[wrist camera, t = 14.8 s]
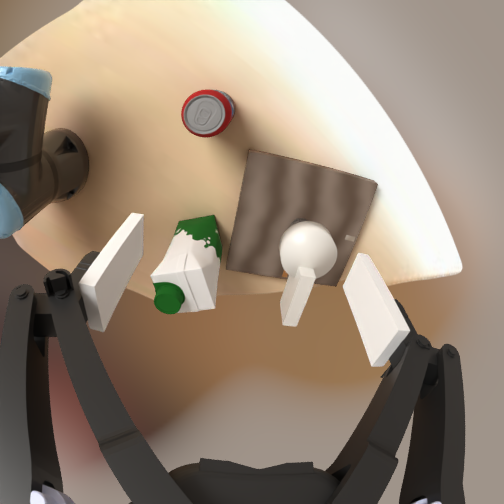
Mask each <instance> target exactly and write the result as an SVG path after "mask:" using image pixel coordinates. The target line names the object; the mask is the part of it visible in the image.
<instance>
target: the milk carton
mask: <svg viewBox="0 0 504 504" xmlns="http://www.w3.org/2000/svg"><path fill="white" fill-rule="evenodd" d="M221 256H222V243H221V240H220V236H219V232H218V228H217V224H216V221H215V217H214V215H211V216H205V217H200V218H194V219H189V220H184V221H179V223H178V226H177V228H176V231H175V234H174V237H173V239H172V241H171V244H170V246H169V248H168V250H167V252H166V255H165V257H164V259H163V261H162V262H161V263H160V264H159V266H158V267H157V268H156V269H155V271H154V272H153V273H152V274H151V278H152V280H153V282H154V283H153V285H154V287H155V292H156V295H155V298H154V304H155V306H156V308H157V309H158V310H159V311H161V312H163V313H166V314H175V313H183V312H196V311H199V310H206V309H215V304H216V293H217V283H218V276H219V269H220V263H221Z"/></svg>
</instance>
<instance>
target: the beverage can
mask: <svg viewBox="0 0 504 504" xmlns="http://www.w3.org/2000/svg"><path fill="white" fill-rule="evenodd" d="M234 113H235V105H234V102H233V100H232V98H231V97H230V96H229V95H228V94H226V93H225V92H222V91H219V90H201V91H198V92H195V93H193V94H192V95H191V96H189V97H188V98H187V100H186V101H185V103H184V105H183V107H182V113H181V116H182V121H183V124H184V126H185V127H186V128H187V130H188V131H189V132H191V133H192V134H194V135H196V136H199V137H212V136H215V135H218V134H219V133H221V132H222V131H223V130H224V129H225V128H226V127H227V126H228V124H229V123H230V122H231V120H232V118H233V116H234Z"/></svg>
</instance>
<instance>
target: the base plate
mask: <svg viewBox="0 0 504 504" xmlns="http://www.w3.org/2000/svg"><path fill="white" fill-rule="evenodd" d="M377 185H378V184H377V183H376V182H375V181H374V180H370V179H367V178H364V177H361V176H357V175H354V174H350V173H347V172H343V171H340V170H336V169H333V168H329V167H325V166H321V165H317V164H313V163H309V162H305V161H301V160H297V159H293V158H288V157H284V156H280V155H275V154H270V153H265V152H261V151H255V150H250V149H249V154H248V158H247V163H246V168H245V173H244V178H243V182H242V187H241V192H240V197H239V202H238V207H237V212H236V217H235V222H234V227H233V233H232V238H231V243H230V248H229V253H228V259H227V264H226V269H227V270H233V271H239V272H245V273H251V274H257V275H263V276H270V277H276V278H283V279H288V277H289V274H288V273H287V272H286V271H285V270H284V268H283V266H282V263H281V257H280V251H279V243H280V239H281V237H282V235H283V233H284V232H285V231H286V230H287V229H288V228H289V227H290V224H291V223H292V222H293V221H294V220H295V219H298V218H304V219H306V220H308V221H313V222H317V223H319V224H321V225H323V226H324V227H325V228H326V229H327V230H328V231H329V233H330V235H331V237H332V239H333V241H334V243H335V245H336V248H337V259H336V262H335V264H334V266H333V267H332V268H331V270H330V271H329V272H327V273H326V274H325V275H323V276H321V277H319V278H317V279H315V282H314V283H315V284H322V285H330V286H337V283H338V281H339V279H340V277H341V275H342V272H343V270H344V268H345V266H346V263H347V261H348V259H349V257H350V254H351V252H352V250H353V247H354V245H355V242H356V240H357V238H358V235H359V233H360V230H361V228H362V225H363V223H364V220H365V218H366V215H367V212H368V210H369V207H370V205H371V202H372V199H373V196H374V194H375V191H376V188H377Z"/></svg>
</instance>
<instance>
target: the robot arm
mask: <svg viewBox="0 0 504 504" xmlns="http://www.w3.org/2000/svg"><path fill="white" fill-rule="evenodd" d="M51 85H52V76H51V74H50V73H49V72H48V71H45V70H40V69H33V68H22V67H3V66H0V239H2V238H7V237H9V236H10V235H12V234H13V233H14V232H16V231H18V230H20V229H21V228H22V227H23V226H24V225H25V224H26V223H27V222H28V221H30V220H31V219H32V218H33V217H34V216H35V215H36V214H38V213H39V212H40V211H41V210H42V209H44V208H45V207H46V206H47V205H49V204H50V203H55V202H60V201H65V200H68V199H70V198H71V197H73V196H74V195H75V194H77V193H78V192H79V191H80V190H81V189H82V188H83V186H84V184H85V182H86V180H87V177H88V171H89V160H88V155H87V151H86V149H85V146H84V144H83V143H82V141H81V140H80V138H79V137H78V136H77V135H76V134H75V133H73V132H72V131H70V130H67V129H63V128H58V129H54V130H51V131H48V132H46V133H44V129H45V121H46V114H47V108H48V102H49V101H50V99H51V97H50V91H51ZM143 229H144V214H137V213H131V214H130V216H129V217H128V218H127V219H126V220H125V222H124V223H123V224H122V225H121V227H120V228H119V229H118V230H117V232H116V233H115V234H114V235H113V237H112V238H111V239H110V241H109V242H108V243H107V244H106V246H105V247H104V248H103V250H102V251H101V252H95V251H92V252H90V253H88V254H87V255H85V256H84V258H83V259H82V260H81V261H80V263H79V264H78V265H77V267H76V268H75V269H74V271H73V272H72V273H71V274H70V272H69V271H67V270H65V269H55V270H52V271H50V272H49V273H47V274H46V276H45V277H44V286H45V289H46V292H47V293H35V292H34V289H33V288H32V286H30V285H26V284H23V285H19V286H18V287H16V288H14V289H13V290H12V292H11V294H10V298H9V302H8V306H7V311H6V316H5V321H4V326H3V333H2V338H1V345H0V504H75V503H74V502H73V501H72V499H71V498H70V497H68V496H67V495H66V494H64V493H63V484H62V477H61V471H60V466H59V461H58V456H57V451H56V445H55V440H54V433H53V425H52V417H51V408H50V395H49V375H48V339H49V337H58V340H59V344H60V348H61V351H62V354H63V358H64V360H65V364H66V367H67V370H68V373H69V375H70V378H71V381H72V384H73V386H74V389H75V392H76V394H77V397H78V399H79V402H80V404H81V406H82V409H83V411H84V413H85V415H86V418H87V420H88V422H89V424H90V426H91V429H92V431H93V433H94V435H95V437H96V439H97V441H98V443H99V447H100V450H101V452H102V453H103V456H104V458H105V459H106V461H107V463H108V465H109V467H110V468H111V470H112V471H113V473H114V475H115V477H116V478H117V480H118V481H119V483H120V485H121V486H122V488H123V489H124V491H125V492H126V494H127V495H128V497H129V498H130V500H131V501H132V502H130V503H129V504H377V503H378V501H379V500H380V498H381V496H382V494H383V492H384V491H385V489H386V486H387V485H388V483H389V481H390V479H391V477H392V475H393V473H394V471H395V469H396V467H397V464H398V459H397V458H395V455H396V452H397V450H398V448H399V445H400V443H401V441H402V438H403V436H404V434H405V431H406V429H407V426H408V424H409V421H410V419H411V416H412V413H413V410H414V417H413V425H412V433H411V440H410V447H409V453H408V459H407V464H406V469H405V475H404V479H403V484H402V488H401V493H400V499H399V504H465V498H464V491H463V483H462V482H463V472H464V456H465V407H464V391H463V380H462V372H461V364H460V356H459V353H458V351H457V350H456V348H455V347H453V346H452V345H450V344H444V346H442V348H441V349H436V348H433V347H432V346H431V343H430V342H429V341H428V340H427V338H425V337H424V336H422V335H418V334H417V332H416V331H415V329H414V327H413V325H412V323H411V321H410V319H409V318H408V315H407V314H406V312H405V310H404V308H403V306H402V305H401V304H400V303H399V302H398V300H396V299H393V297H392V295H391V293H390V291H389V289H388V288H387V286H386V284H385V282H384V281H383V279H382V277H381V275H380V274H379V272H378V270H377V268H376V267H375V265H374V263H373V262H372V260H371V258H370V257H369V255H368V254H363V253H358V254H357V256H356V259H355V261H354V263H353V265H352V268H351V270H350V272H349V274H348V276H347V278H346V281H345V283H344V285H343V289H344V292H345V294H346V297H347V299H348V302H349V304H350V307H351V310H352V313H353V315H354V318H355V320H356V323H357V325H358V329H359V332H360V334H361V337H362V340H363V343H364V346H365V348H366V352H367V355H368V357H369V360H370V363H371V366H384V364H385V363H386V362H387V361H388V360H390V363H391V365H390V366H389V368H388V369H387V370H386V371H385V372H384V374H383V375H382V376H381V378H383V379H382V381H381V383H380V385H379V387H378V389H377V391H376V393H375V395H374V397H373V399H372V401H371V403H370V404H369V407H368V408H367V410H366V412H365V413H364V415H363V417H362V419H361V420H360V422H359V424H358V426H357V427H356V429H355V430H354V432H353V434H352V435H351V437H350V439H349V440H348V442H347V443H346V445H345V447H344V448H343V450H342V451H341V453H340V454H339V455H338V457H337V459H336V460H335V461H334V463H333V464H332V465H331V466H330V467H329V468H328V469H327V470H326V471H323V470H321V469H317V468H313V462H301V463H285V464H281V465H277V466H273V467H268V468H264V469H255V468H251V467H248V466H244V465H240V464H237V463H233V462H230V461H221V460H212V459H204V458H201V459H200V462H199V463H193V464H188V465H184V466H181V467H178V468H176V469H174V470H172V471H170V472H169V473H168V472H167V471H166V470H165V468H164V467H163V465H162V464H161V463H160V461H159V460H158V459H157V457H156V455H155V454H154V452H153V451H152V449H151V448H150V446H149V445H148V443H147V442H146V440H145V439H144V437H143V436H142V434H141V433H140V431H139V430H138V429H137V428H136V426H135V425H134V423H133V421H132V420H131V418H130V416H129V414H128V413H127V411H126V409H125V407H124V405H123V404H122V402H121V400H120V398H119V396H118V394H117V392H116V390H115V388H114V386H113V384H112V383H111V380H110V378H109V376H108V374H107V372H106V370H105V368H104V366H103V363H102V361H101V359H100V357H99V354H98V352H97V350H96V347H95V345H94V343H93V340H92V338H91V335H90V333H89V330H88V328H87V325H86V322H87V320H88V323H89V327H90V328H91V329H94V330H98V331H102V332H104V331H105V329H106V327H107V324H108V322H109V320H110V318H111V316H112V314H113V312H114V310H115V307H116V306H117V303H118V302H119V300H120V297H121V296H122V294H123V292H124V290H125V288H126V286H127V284H128V282H129V280H130V278H131V276H132V274H133V272H134V271H135V269H136V267H137V265H138V263H139V261H140V259H141V258H142V256H143Z"/></svg>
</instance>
